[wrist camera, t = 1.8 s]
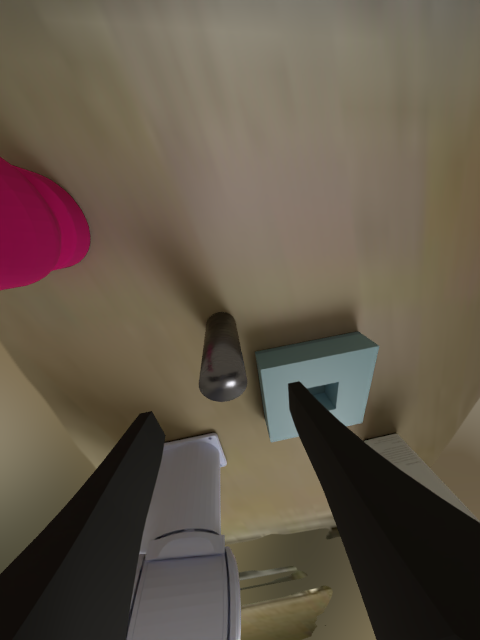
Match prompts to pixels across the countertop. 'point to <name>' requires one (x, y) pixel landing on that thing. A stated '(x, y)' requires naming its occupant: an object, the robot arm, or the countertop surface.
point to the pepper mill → (37, 227)
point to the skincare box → (414, 467)
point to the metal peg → (222, 360)
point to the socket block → (317, 379)
